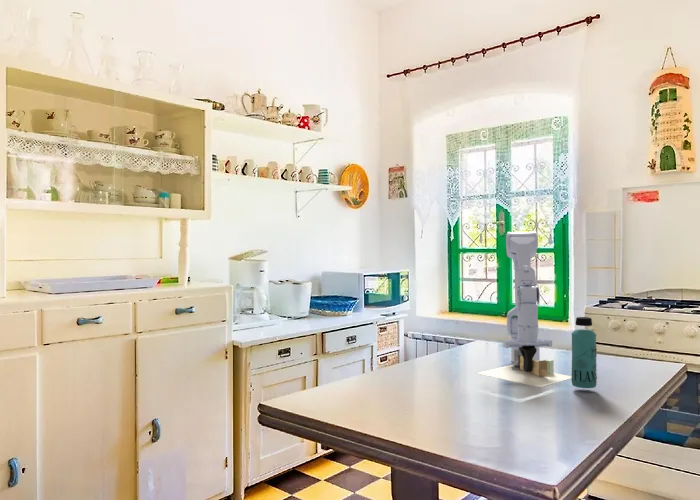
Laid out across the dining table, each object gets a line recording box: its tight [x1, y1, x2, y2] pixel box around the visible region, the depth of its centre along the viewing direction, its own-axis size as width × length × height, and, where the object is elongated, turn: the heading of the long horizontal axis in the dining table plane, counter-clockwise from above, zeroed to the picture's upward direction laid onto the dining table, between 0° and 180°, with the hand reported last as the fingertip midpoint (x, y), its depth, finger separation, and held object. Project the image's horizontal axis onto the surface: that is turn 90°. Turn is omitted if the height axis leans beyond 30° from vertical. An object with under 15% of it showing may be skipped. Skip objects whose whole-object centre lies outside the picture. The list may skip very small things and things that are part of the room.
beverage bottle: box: [570, 316, 598, 389], centre depth 149 cm, size 6×7×20 cm
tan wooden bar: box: [520, 356, 547, 377], centre depth 165 cm, size 11×2×4 cm, turn 18°
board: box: [476, 364, 572, 388], centre depth 164 cm, size 18×22×1 cm
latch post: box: [543, 358, 555, 374], centre depth 166 cm, size 2×2×5 cm
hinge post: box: [512, 349, 522, 370], centre depth 172 cm, size 4×4×7 cm
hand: (527, 371), depth 165 cm, fingers closed, pressing on tan wooden bar
